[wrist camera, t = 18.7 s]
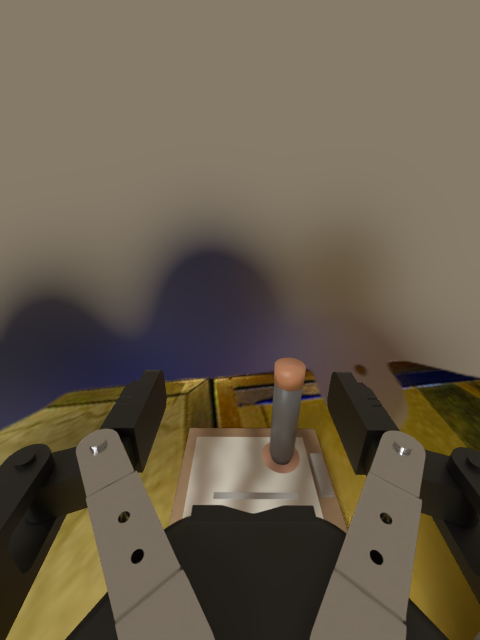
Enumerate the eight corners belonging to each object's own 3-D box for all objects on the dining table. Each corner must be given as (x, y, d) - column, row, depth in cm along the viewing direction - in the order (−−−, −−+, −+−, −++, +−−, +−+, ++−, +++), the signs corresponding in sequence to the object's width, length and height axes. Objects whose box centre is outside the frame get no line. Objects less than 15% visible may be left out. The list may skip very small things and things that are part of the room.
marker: (269, 467, 39) (276, 374, 32) (267, 445, 42) (273, 357, 36) (296, 467, 39) (308, 374, 32) (291, 445, 42) (302, 357, 36)
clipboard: (164, 550, 30) (163, 542, 30) (190, 431, 46) (189, 424, 45) (351, 551, 31) (354, 543, 30) (313, 432, 46) (315, 425, 45)
